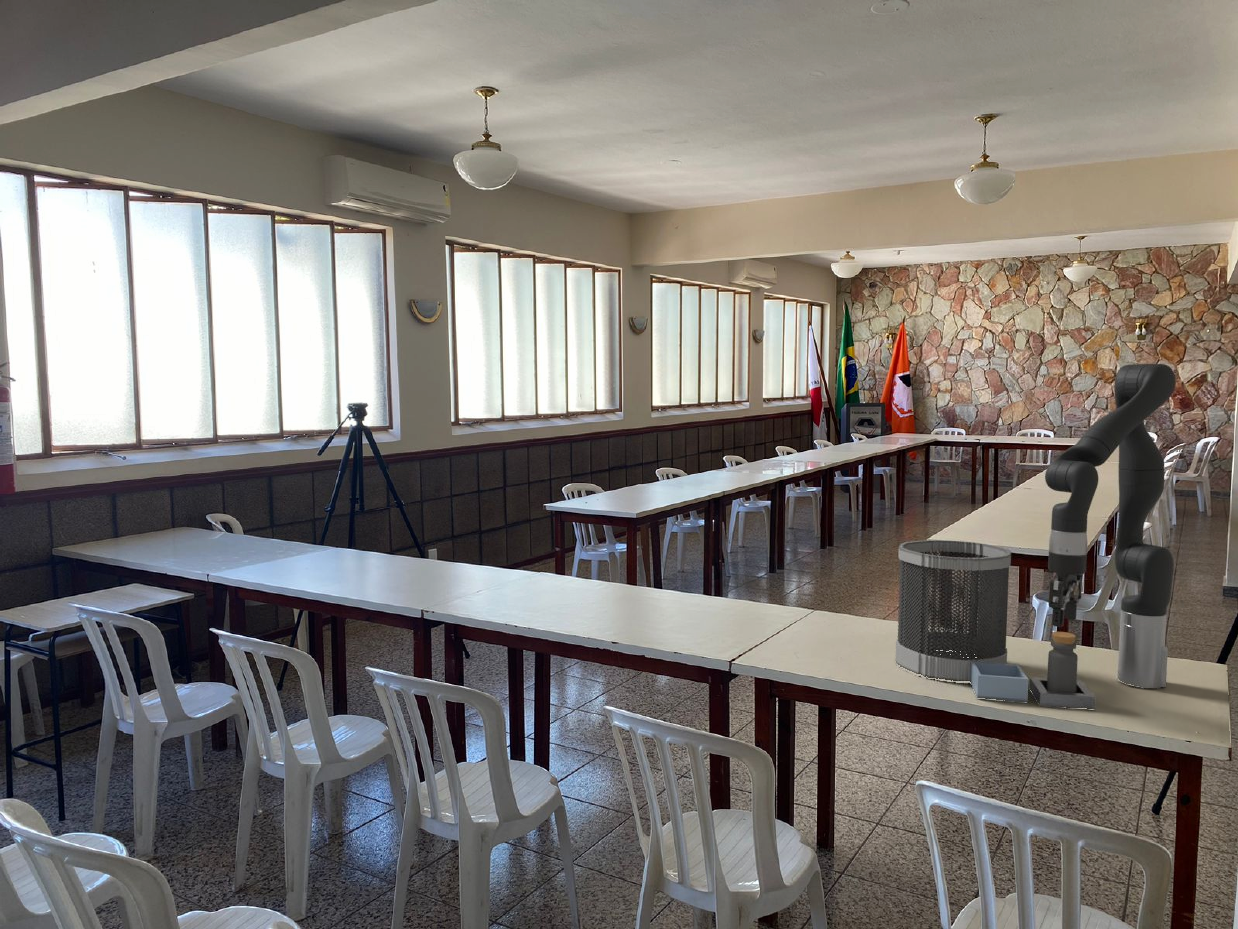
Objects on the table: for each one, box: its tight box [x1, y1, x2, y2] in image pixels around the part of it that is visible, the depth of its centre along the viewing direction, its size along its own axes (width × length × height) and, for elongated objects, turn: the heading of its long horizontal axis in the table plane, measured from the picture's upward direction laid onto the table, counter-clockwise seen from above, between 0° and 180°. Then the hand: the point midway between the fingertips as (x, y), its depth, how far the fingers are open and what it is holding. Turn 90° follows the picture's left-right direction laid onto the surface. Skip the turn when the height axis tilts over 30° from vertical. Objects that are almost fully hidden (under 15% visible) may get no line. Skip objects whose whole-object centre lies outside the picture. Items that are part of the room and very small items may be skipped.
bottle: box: [1047, 631, 1079, 693], centre depth 197 cm, size 6×6×15 cm
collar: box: [1028, 676, 1097, 710], centre depth 197 cm, size 11×11×3 cm
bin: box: [970, 662, 1029, 703], centre depth 201 cm, size 10×10×6 cm
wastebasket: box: [895, 539, 1012, 681], centre depth 220 cm, size 25×25×30 cm
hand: (1064, 622), depth 196 cm, fingers open, 8 cm apart
